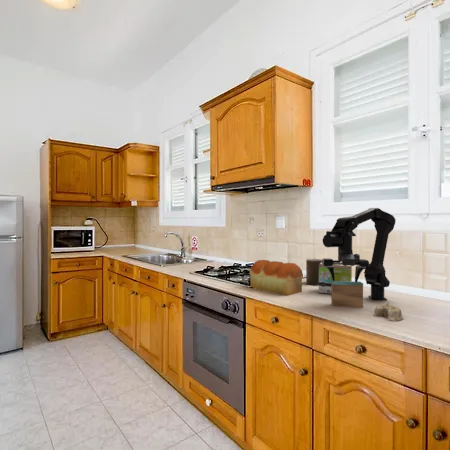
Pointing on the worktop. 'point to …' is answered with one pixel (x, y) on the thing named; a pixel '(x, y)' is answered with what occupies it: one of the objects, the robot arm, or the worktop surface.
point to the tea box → (339, 273)
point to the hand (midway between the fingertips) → (344, 282)
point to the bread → (276, 277)
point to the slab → (347, 293)
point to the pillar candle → (312, 271)
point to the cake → (388, 312)
